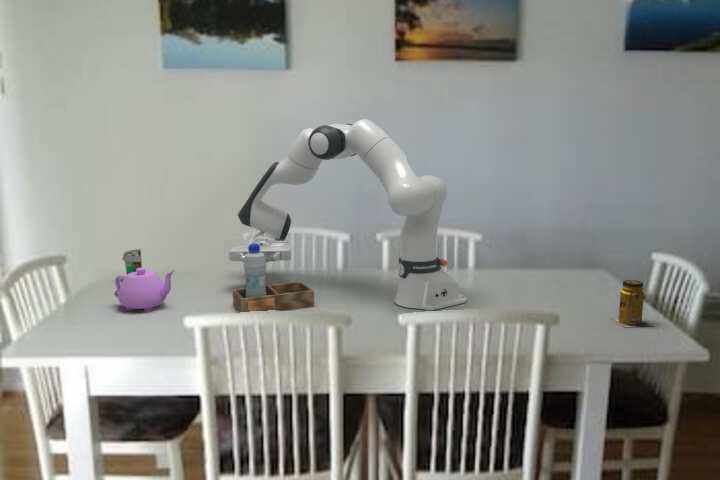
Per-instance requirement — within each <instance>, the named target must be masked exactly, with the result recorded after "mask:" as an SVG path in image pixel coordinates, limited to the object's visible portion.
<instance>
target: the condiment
mask: <svg viewBox="0 0 720 480" xmlns="http://www.w3.org/2000/svg"><path fill="white" fill-rule="evenodd" d="M643 286H644V283H643V281H640V280H635V279H625V280H623V281H622V287H621V288H622V289H621V290H620V296H619V297H620V298H619V309H618V318H613V321H615V322H616V323H618V324H619V325H620V326H622V327H624V328H638V327H639V328H640V327H654V324H652V323H650V322H648V321H647V320H645V319H643V311H644V309H643V308H644V300H645V299H644V298H645V297H644V296H645V293H644V287H643Z"/></svg>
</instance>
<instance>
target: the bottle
mask: <svg viewBox="0 0 720 480" xmlns="http://www.w3.org/2000/svg"><path fill="white" fill-rule="evenodd" d="M248 246H249V247H248V249H249V252H248V253H247V254H245V257H244V262H243V270H244V273H245V288H246V298H251V297H260V296H267V295H266V286H267V285H266V270H267V263H266V260H265V255H264V253H262V252H259V251H260V246H259V244H251V243H250V244H249V245H248Z"/></svg>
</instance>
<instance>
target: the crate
mask: <svg viewBox="0 0 720 480" xmlns="http://www.w3.org/2000/svg"><path fill="white" fill-rule="evenodd" d="M266 295H267V296H260V297H251V298H246V287H240V288H234V289H232V305H233V306H235V309H236V311H237V312H238V311H239V312H250V311H268V310H283V311H289V310H290V311H291V310H297V309H304V308H311V307H315V290H314V289H312V288H311V287H310V286H309V285H308V284H306V283H304V282H303V281H294V282H293V281H292V282H286V283H277V284H268V285H266ZM239 312H238V313H239Z"/></svg>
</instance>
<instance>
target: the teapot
mask: <svg viewBox="0 0 720 480" xmlns="http://www.w3.org/2000/svg"><path fill="white" fill-rule="evenodd" d="M174 272H176V269H174V270H171V271H168V272H167V273H165V277H164V282H163V281H162V279H161V277H160V276H159V275H158V274H157V273H156V272H154V271H153V270H152V271H151V270H147V269H146V267H142V268H137V269H136V272H132V273H129V274H128V275H127V274H125V273H122V274H119V275H117V276H116V277H115V279H114V283H115V286H116V290H115V291H114V297H115V298H117V300H118V303H120V304H121V305H122V306H123V307H124V308H126V309H125V311H127V312H128V311H134V310H139V309H140V310H141V309H142V310H144V312H151V311H153V308H154V307H158V306H160V305H162V303H163V302H165V300H166V298H167V295H169V293H170V291H171V288H172V281H171V280H172V279H171V278H172V275H173V273H174ZM121 278H122V279H123V281H122V282H120V279H121ZM120 283H121V284H120Z"/></svg>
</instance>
